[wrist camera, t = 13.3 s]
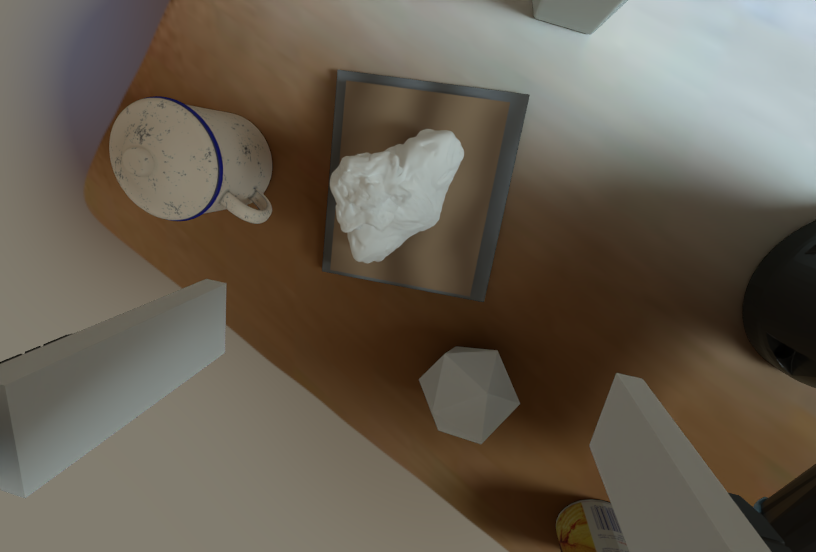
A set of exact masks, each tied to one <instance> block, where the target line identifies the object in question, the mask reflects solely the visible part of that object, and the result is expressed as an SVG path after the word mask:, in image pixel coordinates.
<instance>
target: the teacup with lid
mask: <svg viewBox="0 0 816 552" xmlns="http://www.w3.org/2000/svg"><path fill="white" fill-rule="evenodd" d="M109 152H110V160H111V164H112V168H113V171H114V174H115V176H116V178H117V180H118V182H119V184H120V186H121V187H122V189H123V190H124V192H125V193H126V194H127V196H128V197H129V198H130V199H131V200H132V201H133V202H134V203H135V204H136V205H138V206H139V207H140V208H141V209H143V210H145V211H146V212H148V213H150V214H152V215H154V216H156V217H159V218H162V219H166V220H171V221H186V220H190V219H194V218H196V217H198V216H200V215H202V214H205V213H210V212H215V211H220V210H225V209H227V210H229V211H230V212H231V213H232V214H234V215H235V216H237V217H238V218H240V219H242V220H245V221H247V222H250V223H255V224H259V223H263V222H265V221H266V220H267V219H268V218H269V217H270V215H271V213H272V206H271V203H270V201H269V200H268V199H267V197H266V196H265V195H264V194H263V193H264V192H265V190H266V188H267V187H268V185H269V182H270V179H271V175H272V157H271V152H270V149H269V146H268V144H267V142H266V140H265V138H264V136H263V135H262V134H261V132H260V131H259V130H258V129H257V127H256V126H255V125H253V124H252V123H251V122H250V121H248V120H247V119H245V118H243V117H241V116H239V115H236V114H233V113H228V112H223V111H217V110H212V109H207V108H201V107H196V106H191V105H185V104H183V103H181V102H179V101H177V100H174V99H171V98H167V97H157V96H156V97H148V98H144V99H141V100H138V101H136V102H134V103H132V104H130V105H129V106H127V107H126V108H125V109H124V110H123V111H122V112H121V113H120V114H119V116H118V117H117V119H116V121H115V123H114V125H113V127H112V131H111V135H110V142H109ZM252 202H253V203H254V204H255V205H256V206H257V207H258V209H259V210H256V209H253V208H251V207H249V206H247V204H250V203H252Z"/></svg>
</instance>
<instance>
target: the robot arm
mask: <svg viewBox="0 0 816 552" xmlns="http://www.w3.org/2000/svg"><path fill="white" fill-rule="evenodd" d="M743 322H744V327H745V331H746V333H747V336H748V338H749V340H750V342H751V344H752V345H753V347H754V348H755V349H756V351H757V352H758V353H759V354H760V355H761V356H762V357H763V358H764V359H765V360H767V361H768V362H769V363H771V364H772V365H774V366H775V367H776V368H778V369H779V370H781V371H782V372H784V373H785V374H787V375H788V376H790V377H792V378H793V379H795V380H797V381H799V382H802V383H804V384H806V385H809V386H811V387H814V388H816V221H815V222H812V223H810V224H808V225H806V226H804V227H803V228H801V229H799V230H797V231H796V232H794V233H793V234H791V235H790V236H788V237H787V238H786V239H784V240H783V241H782V242H781V243H780V244H778V245H777V246H776V247H775V248H774V249H773V250H772V251H771V252H770V253H769V254H768V255H767V256H766V257H765V258H764V260H763V261H762V262H761V264H760V265H759V266H758V268H757V269H756V271H755V273H754V274H753V276H752V278H751V280H750V282H749V285H748V287H747V290H746V293H745V297H744V302H743ZM225 329H226V283H223V282H218V281H214V280H209V279H205V280H203V281H200V282H198V283H195V284H193V285H191V286H188V287H186V288H183V289H181V290H178V291H176V292H174V293H171V294H169V295H166V296H164V297H162V298H159V299H157V300H154V301H152V302H149V303H147V304H144V305H142V306H140V307H137V308H135V309H132V310H130V311H127V312H125V313H123V314H120V315H118V316H115V317H113V318H110V319H108V320H106V321H103V322H101V323H98V324H96V325H94V326H91V327H89V328H86V329H84V330H81V331H79V332H76V333H74V334H70V335H65V336H63V337H60V338H58V339H56V340H53V341H51V342H48V343H46V344H44V345H43V346H42V347H40V346H39V347H36V348H33V349H31V350H29V351H26V352H25V354H19V355H16V356H14V357H12V358H9V359H6V360H4V361H2V362H0V490H2V491H5V492H8V493H11V494H14V495H17V496H20V497H23V498H26V497H27V496H29V495H30V494H32V493H33V492H34V491H36V490H37V489H39V488H40V487H41V486H43V485H44V484H45V483H47V482H48V481H49V480H51V479H52V478H54V477H55V476H56V475H58V474H59V473H60V472H62V471H63V470H65V469H66V468H67V467H69V466H70V465H72V464H73V463H74V462H76V461H77V460H78V459H80V458H81V457H83V456H84V455H85V454H87V453H88V452H89V451H90V450H92V449H93V448H95V447H96V446H98V445H99V444H100V443H102V442H103V441H105V440H106V439H107V438H109V437H110V436H111V435H113V434H114V433H115V432H116V431H118V430H120V429H121V428H122V427H124V426H125V425H126V424H128V423H129V422H131V421H132V420H133V419H135V418H136V417H137V416H138V415H140V414H142V413H143V412H144V411H146V410H147V409H148V408H150V407H151V406H152V405H154V404H155V403H157V402H158V401H159V400H161V399H162V398H163V397H165V396H166V395H167V394H169V393H170V392H172V391H173V390H175V389H176V388H177V387H179V386H180V385H181V384H183V383H184V382H186V381H187V380H188V379H190V378H191V377H192V376H194V375H195V374H197V373H198V372H199V371H201V370H202V369H203V368H205V367H206V366H208V365H209V364H210V363H212V362H213V361H214V360H216V359H217V358H219V357H220V356H221V355H222V354H224V353H225ZM589 446H590V449H591V451H592V454H593V457H594V459H595V462H596V465H597V467H598V470H599V473H600V475H601V478H602V481H603V483H604V486H605V489H606V491H607V494H608V496H609V499H610V502H611V504H612V507H613V510H614V512H615V515H616V518H617V520H618V523H619V526H620V528H621V531H622V533H623V536H624V539H625V541H626V544H627V547H628V549H629V552H816V464H815V465H813V466H812V467H811V468H809V469H808V470H806V471H805V472H804V473H802V474H801V475H800V476H798V477H797V478H795V479H794V480H793V481H791V482H790V483H789V484H787V485H786V486H784V487H783V488H782V489H780V490H779V491H778V492H776V493H775V494H773V495H772V496H771V497H769V498H767V497H763V498H761V499H759V500H758V501H757V502H756V503H755V504H754V508H753V507H752V506H751V505H750V504H749V503H747V502H746V501H745V500H744V499H743V498H742V497H740V496H739V495H735V494H731V493H727V491H726V490H725V489H724V487H723V486H722V485H721V483H720V482H719V481H718V479H717V478H716V477H715V475H714V474H713V473H712V471H711V470H710V469H709V467H708V466H707V465H706V463H705V462H704V460H703V459H702V458H701V456H700V455H699V454H698V452H697V451H696V450H695V448H694V447H693V446H692V444H691V443H690V442H689V440H688V439H687V438H686V436H685V435H684V434H683V432H682V431H681V430H680V428H679V427H678V426H677V424H676V423H675V422H674V420H673V419H672V418H671V416H670V415H669V414H668V412H667V411H666V410H665V408H664V407H663V406H662V404H661V403H660V401H659V400H658V399H657V397H656V396H655V395H654V393H653V392H652V391H651V389H650V388H649V387H648V385H647V384H646V383H645V381H644V380H643V379H641V378H637V377H633V376H628V375H624V374H620V373H616V375H615V378H614V380H613V383H612V386H611V388H610V391H609V394H608V396H607V399H606V402H605V405H604V407H603V410H602V413H601V415H600V418H599V421H598V423H597V426H596V429H595V431H594V434H593V437H592V439H591V442H590V445H589Z"/></svg>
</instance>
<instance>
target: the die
mask: <svg viewBox="0 0 816 552" xmlns="http://www.w3.org/2000/svg"><path fill="white" fill-rule="evenodd" d="M419 382H420V384H421V387H422V389H423V392H424V395H425V397H426V400H427V402H428V405H429V408H430V410H431V413H432V415H433V418H434V421H435V423H436V426H437V428H438V430H439V431H442V432H445V433H448V434H451V435H454V436H457V437H460V438H463V439H466V440H470V441H473V442H476V443H479V444H482V443H483V442H484V441H485V440H486V439H487V438H488V437H489V436H490V435H491V434H492V433H493V432H494V430H495V429H496V428H497V427H498V426H499V425H500V424H501V423H502V422H503V421H504V420H505V419H506V418H507V417H508V416H509V415H510V414H511V413H512V412H513V411H514V410H515V409H516V408H517V407H518V406H519V405H520V402H519V400H518V397H517V395H516V393H515V390H514V388H513V386H512V383H511V381H510V379H509V376H508V374H507V371H506V369H505V367H504V364H503V362H502V360H501V357H500V355H499V353H498V350H488V349H478V348H468V347H457V346H455V347H454V348H452V349H451V350H449V351H448V352H446V353H445V354H444V355H443V356H442V357H441V358H440V359H439V360H438V361H437V362H436V363H435V364H434V365H433V366H432V367H431V368H430V369H429V370H428V371H427V372H426V373H425V374H424V375H423V376H422V377H421V378H420V379H419Z"/></svg>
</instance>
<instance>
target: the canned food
mask: <svg viewBox="0 0 816 552" xmlns="http://www.w3.org/2000/svg"><path fill="white" fill-rule="evenodd" d="M556 531H557V536H558V540H559V545H560V549H561V552H629V549H628V547H627V544H626V541H625V539H624V536H623V533H622V531H621V528H620V526H619V523H618V520H617V518H616V515H615V512H614V510H613V507H612V504H611V503H609V502H606V501H602V500H594V499H589V500H581V501H577V502H574V503H572V504H570V505H568V506H567V507H565V508H564V509H563V510H562V511H561V512H560V513H559V515H558V518H557V520H556Z"/></svg>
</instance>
